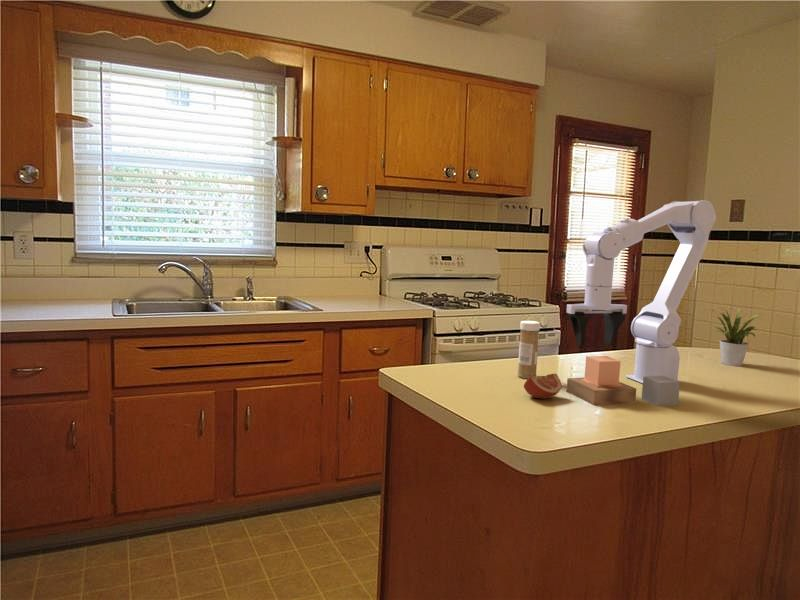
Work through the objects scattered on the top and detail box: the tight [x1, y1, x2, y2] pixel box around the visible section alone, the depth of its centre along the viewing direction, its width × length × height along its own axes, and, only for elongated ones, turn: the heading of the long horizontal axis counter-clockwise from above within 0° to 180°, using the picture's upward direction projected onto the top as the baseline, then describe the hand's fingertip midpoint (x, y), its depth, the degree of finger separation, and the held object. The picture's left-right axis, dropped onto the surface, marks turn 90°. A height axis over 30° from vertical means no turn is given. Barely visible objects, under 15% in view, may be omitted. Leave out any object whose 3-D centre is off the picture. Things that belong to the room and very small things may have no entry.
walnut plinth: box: [566, 377, 637, 406], centre depth 125 cm, size 10×10×4 cm
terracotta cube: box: [583, 355, 621, 385], centre depth 125 cm, size 5×5×5 cm
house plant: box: [706, 306, 761, 367], centre depth 165 cm, size 14×14×16 cm
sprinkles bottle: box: [517, 320, 541, 380], centre depth 140 cm, size 5×5×14 cm
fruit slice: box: [523, 373, 563, 399], centre depth 123 cm, size 8×7×5 cm
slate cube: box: [641, 376, 681, 407], centre depth 123 cm, size 5×5×5 cm
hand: (594, 344), depth 135 cm, fingers open, 7 cm apart
